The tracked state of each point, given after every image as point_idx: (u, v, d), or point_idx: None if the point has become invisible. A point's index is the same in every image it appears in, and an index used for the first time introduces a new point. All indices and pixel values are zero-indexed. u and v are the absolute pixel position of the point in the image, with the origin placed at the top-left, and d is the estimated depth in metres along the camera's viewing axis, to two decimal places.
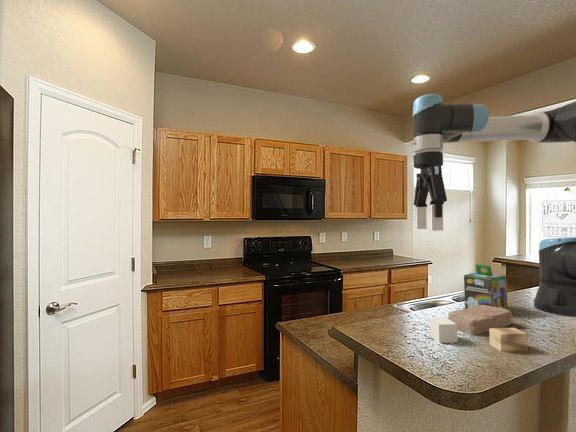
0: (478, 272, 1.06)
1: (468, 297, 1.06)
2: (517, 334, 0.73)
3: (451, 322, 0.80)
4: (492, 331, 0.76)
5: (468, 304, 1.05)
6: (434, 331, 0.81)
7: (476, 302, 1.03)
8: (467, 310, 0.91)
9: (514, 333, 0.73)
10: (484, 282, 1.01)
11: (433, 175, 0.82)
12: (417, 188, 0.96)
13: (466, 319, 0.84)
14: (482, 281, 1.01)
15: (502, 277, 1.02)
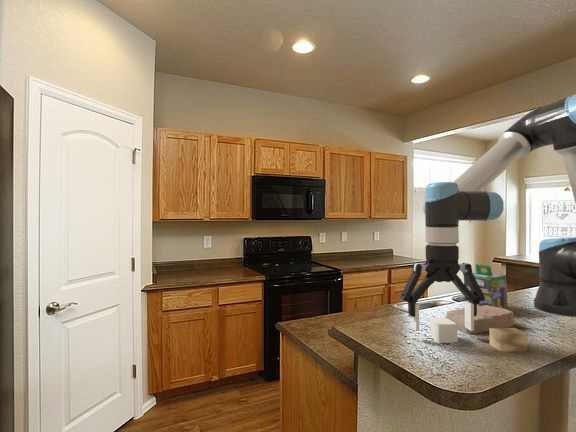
0: (478, 272, 1.06)
1: None
2: (517, 334, 0.73)
3: (451, 322, 0.80)
4: (492, 331, 0.76)
5: None
6: (434, 331, 0.81)
7: None
8: None
9: (514, 333, 0.73)
10: (484, 282, 1.01)
11: (412, 272, 0.81)
12: (466, 280, 0.82)
13: (462, 318, 0.85)
14: (482, 281, 1.01)
15: (502, 277, 1.02)
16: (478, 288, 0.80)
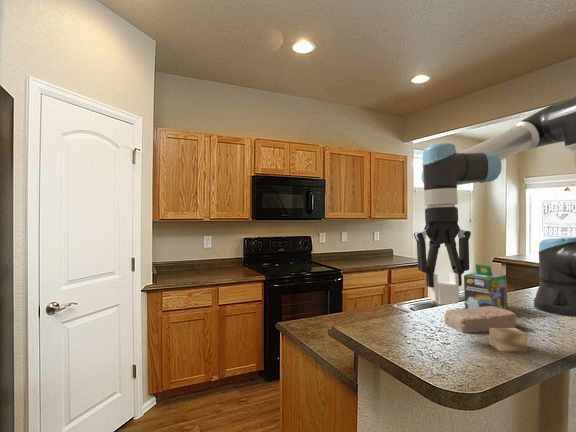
0: (478, 272, 1.06)
1: (468, 297, 1.06)
2: (517, 334, 0.73)
3: (452, 283, 0.80)
4: (492, 331, 0.76)
5: (468, 304, 1.05)
6: None
7: (476, 302, 1.03)
8: (468, 310, 0.92)
9: (514, 333, 0.73)
10: (484, 282, 1.01)
11: (417, 242, 0.81)
12: (459, 247, 0.82)
13: (458, 317, 0.86)
14: (482, 281, 1.01)
15: (502, 277, 1.02)
16: (467, 257, 0.80)
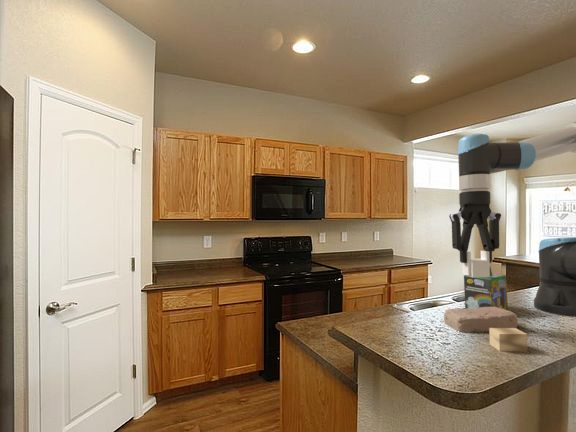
0: None
1: (468, 297, 1.06)
2: (517, 334, 0.73)
3: (483, 259, 0.89)
4: (492, 331, 0.76)
5: (468, 304, 1.05)
6: None
7: (476, 302, 1.03)
8: (469, 309, 0.92)
9: (514, 333, 0.73)
10: (484, 282, 1.01)
11: (452, 223, 0.91)
12: (489, 228, 0.91)
13: (455, 316, 0.87)
14: (481, 281, 1.01)
15: (502, 277, 1.02)
16: (497, 236, 0.89)
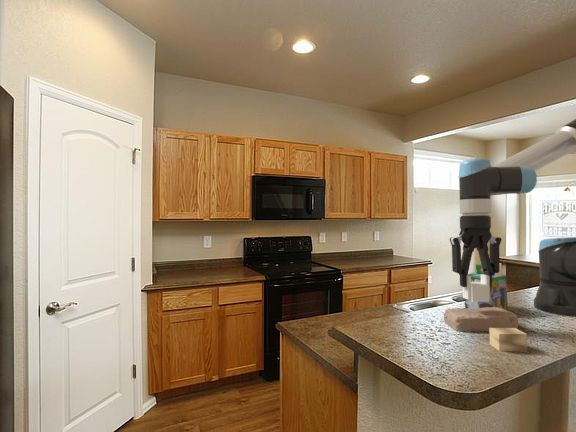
0: (478, 272, 1.06)
1: None
2: (517, 334, 0.73)
3: (483, 283, 0.89)
4: (492, 331, 0.76)
5: (468, 304, 1.05)
6: None
7: (476, 302, 1.03)
8: (469, 309, 0.92)
9: (514, 333, 0.73)
10: None
11: (452, 246, 0.91)
12: (490, 251, 0.91)
13: (453, 316, 0.88)
14: None
15: (502, 277, 1.02)
16: (498, 260, 0.89)
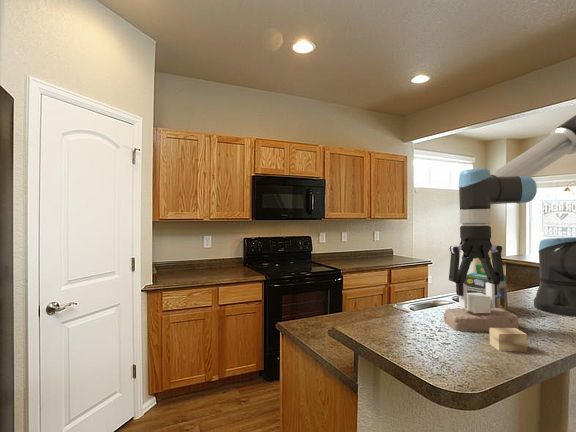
0: (478, 272, 1.06)
1: None
2: (517, 334, 0.73)
3: (484, 295, 0.89)
4: (492, 331, 0.76)
5: None
6: (469, 303, 0.90)
7: None
8: None
9: (514, 333, 0.73)
10: (484, 282, 1.01)
11: (451, 255, 0.91)
12: (492, 260, 0.91)
13: (452, 316, 0.88)
14: (482, 281, 1.01)
15: None
16: (501, 269, 0.89)
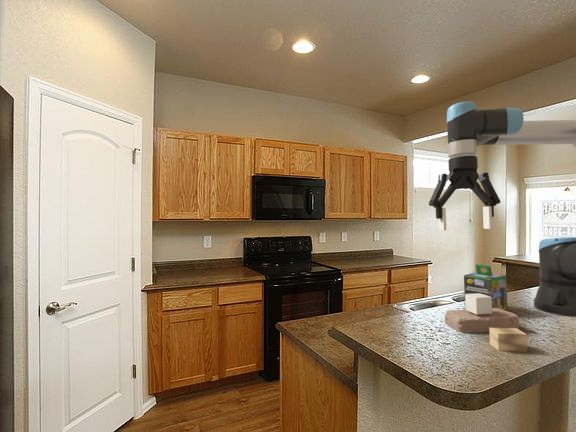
0: (478, 272, 1.06)
1: None
2: (516, 334, 0.73)
3: (485, 295, 0.89)
4: (491, 330, 0.76)
5: None
6: (470, 304, 0.89)
7: None
8: None
9: (513, 333, 0.73)
10: (484, 282, 1.01)
11: (438, 182, 0.95)
12: None
13: (455, 317, 0.87)
14: (482, 281, 1.01)
15: (502, 277, 1.02)
16: (494, 192, 0.94)
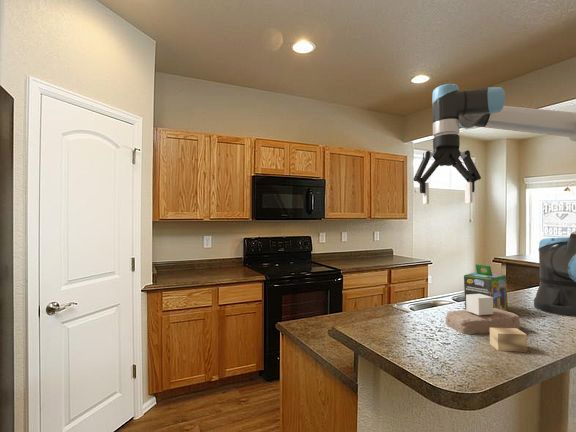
0: (478, 272, 1.06)
1: None
2: (516, 334, 0.73)
3: (486, 296, 0.88)
4: (491, 330, 0.76)
5: None
6: (472, 305, 0.88)
7: None
8: None
9: (513, 333, 0.73)
10: (484, 282, 1.01)
11: None
12: (466, 165, 1.02)
13: (458, 319, 0.86)
14: (482, 281, 1.01)
15: (502, 277, 1.02)
16: (475, 169, 1.00)
